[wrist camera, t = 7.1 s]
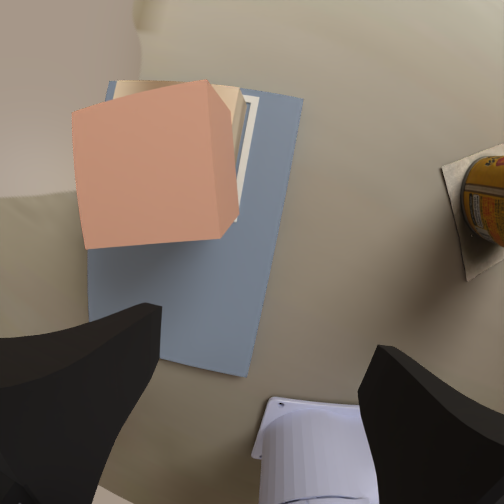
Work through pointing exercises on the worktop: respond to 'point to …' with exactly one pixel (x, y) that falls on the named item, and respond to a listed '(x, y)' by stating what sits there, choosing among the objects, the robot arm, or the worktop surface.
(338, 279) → the worktop surface
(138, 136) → the terracotta block
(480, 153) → the condiment
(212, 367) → the board
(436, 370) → the worktop surface
